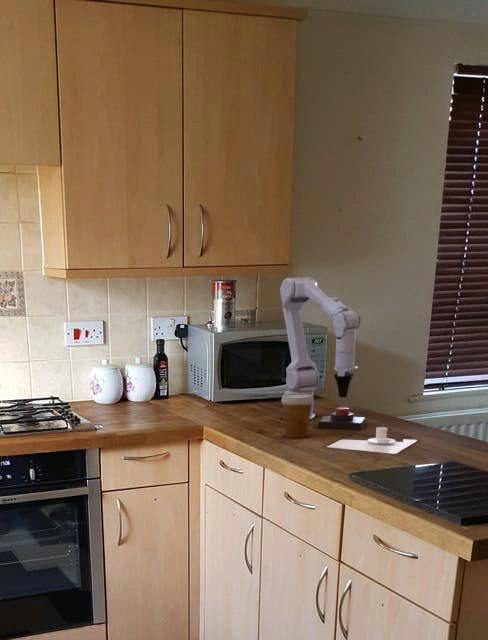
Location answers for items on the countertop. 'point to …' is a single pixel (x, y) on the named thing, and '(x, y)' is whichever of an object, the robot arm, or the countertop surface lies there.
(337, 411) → the red push button
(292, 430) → the disposable coffee cup
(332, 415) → the control block
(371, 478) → the countertop surface
